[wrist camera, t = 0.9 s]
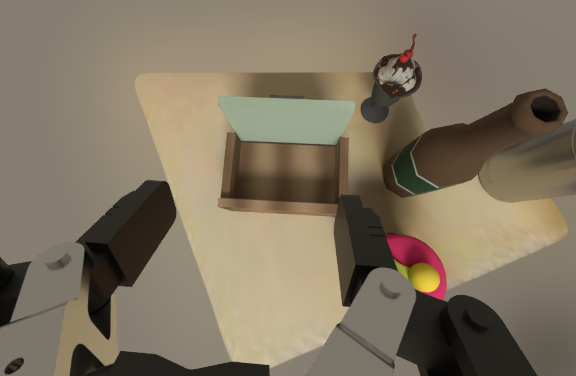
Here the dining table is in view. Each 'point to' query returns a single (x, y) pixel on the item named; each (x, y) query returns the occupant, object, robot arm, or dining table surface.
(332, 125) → the pale green panel
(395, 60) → the sundae
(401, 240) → the cake
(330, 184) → the wooden box
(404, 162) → the beer bottle
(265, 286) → the dining table surface
